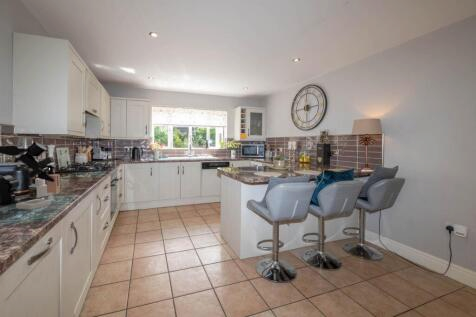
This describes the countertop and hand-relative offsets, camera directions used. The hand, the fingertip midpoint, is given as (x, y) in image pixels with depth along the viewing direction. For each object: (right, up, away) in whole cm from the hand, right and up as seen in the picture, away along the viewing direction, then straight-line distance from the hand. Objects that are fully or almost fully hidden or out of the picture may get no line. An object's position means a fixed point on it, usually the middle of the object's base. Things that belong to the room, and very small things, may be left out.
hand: (55, 180), depth 133 cm
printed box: (-19, -11, +10) cm, 24 cm away
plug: (-1, -7, 0) cm, 7 cm away
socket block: (-3, -13, -11) cm, 17 cm away
